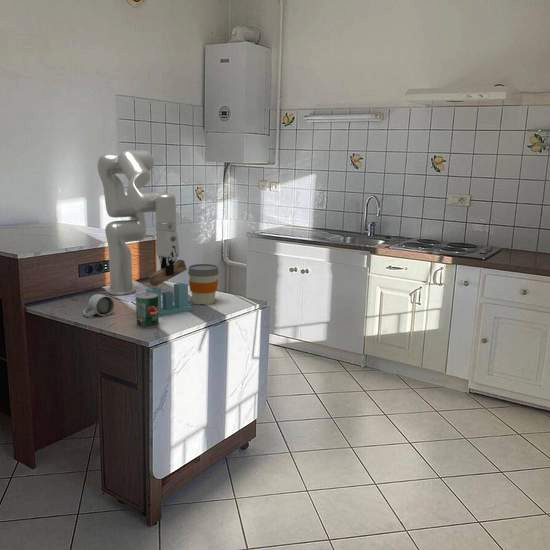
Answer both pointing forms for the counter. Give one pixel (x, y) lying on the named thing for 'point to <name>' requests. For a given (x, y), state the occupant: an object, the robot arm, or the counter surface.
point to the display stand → (167, 299)
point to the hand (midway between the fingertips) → (167, 274)
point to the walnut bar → (161, 274)
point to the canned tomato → (147, 309)
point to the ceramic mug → (99, 305)
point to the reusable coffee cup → (203, 282)
